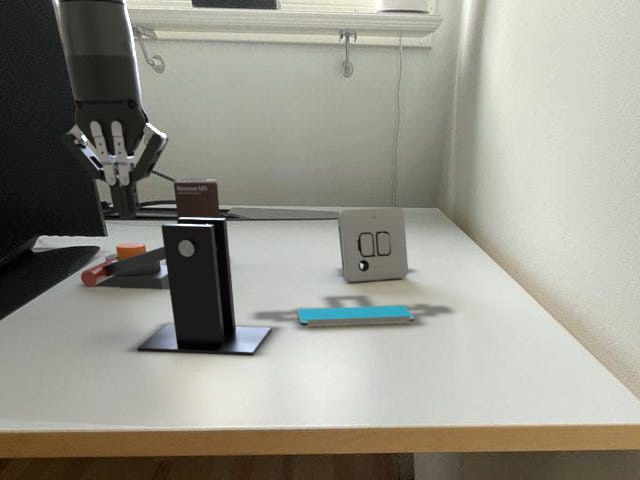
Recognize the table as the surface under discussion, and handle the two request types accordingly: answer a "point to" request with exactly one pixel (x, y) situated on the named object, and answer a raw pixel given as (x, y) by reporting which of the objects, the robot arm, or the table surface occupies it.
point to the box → (196, 198)
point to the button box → (139, 277)
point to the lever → (122, 266)
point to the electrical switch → (373, 244)
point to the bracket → (201, 293)
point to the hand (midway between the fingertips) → (127, 217)
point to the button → (129, 250)
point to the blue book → (355, 316)
